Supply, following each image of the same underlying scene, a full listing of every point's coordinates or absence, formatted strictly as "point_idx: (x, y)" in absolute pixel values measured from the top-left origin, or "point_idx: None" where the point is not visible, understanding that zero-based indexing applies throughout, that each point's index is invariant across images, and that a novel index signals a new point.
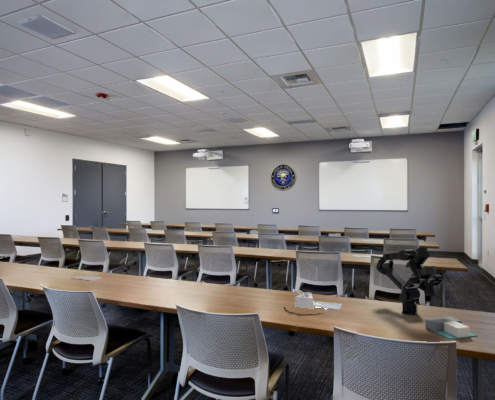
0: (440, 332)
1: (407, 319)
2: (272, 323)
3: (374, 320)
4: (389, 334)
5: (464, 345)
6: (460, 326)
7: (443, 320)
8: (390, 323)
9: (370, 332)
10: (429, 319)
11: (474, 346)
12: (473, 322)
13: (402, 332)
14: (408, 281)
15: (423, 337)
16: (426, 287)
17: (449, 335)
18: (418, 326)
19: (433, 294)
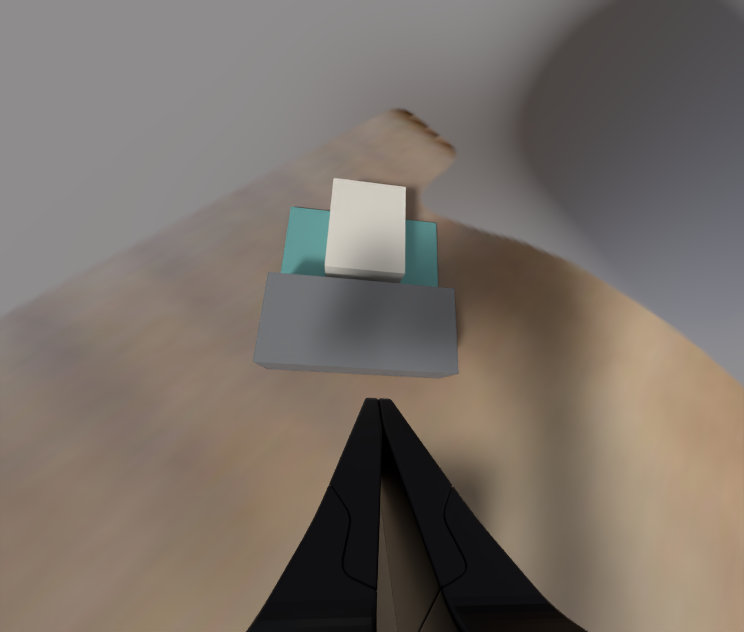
0: (426, 284)
1: None
2: None
3: (675, 595)
4: (656, 353)
5: (425, 170)
6: (370, 198)
7: (369, 311)
8: (596, 502)
9: (734, 404)
10: (440, 354)
11: (397, 153)
12: (94, 355)
13: (589, 355)
14: None
15: (527, 276)
16: (497, 563)
17: (413, 244)
18: (467, 402)
19: (379, 411)
